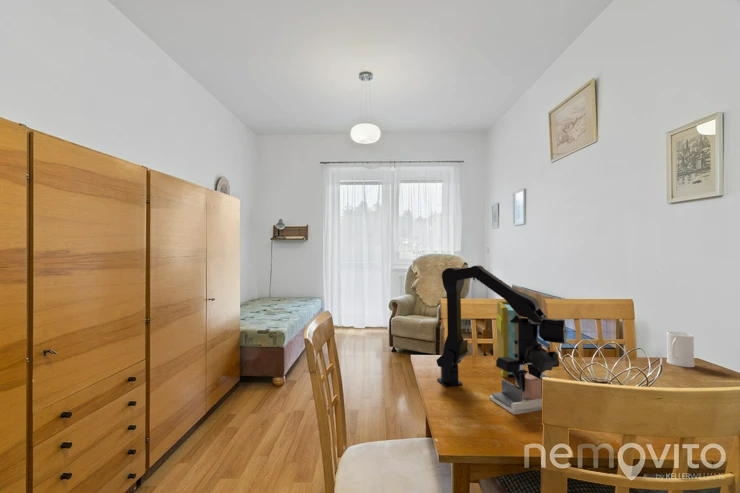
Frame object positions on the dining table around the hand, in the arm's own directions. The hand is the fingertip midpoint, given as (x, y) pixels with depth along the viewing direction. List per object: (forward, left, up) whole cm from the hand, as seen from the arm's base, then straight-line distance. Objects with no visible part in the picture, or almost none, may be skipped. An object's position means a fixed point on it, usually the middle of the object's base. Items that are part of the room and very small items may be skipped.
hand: (527, 390), depth 107 cm
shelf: (+1, 0, -3) cm, 3 cm away
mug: (-10, +82, -4) cm, 83 cm away
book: (-25, +13, -4) cm, 29 cm away
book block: (0, 0, -1) cm, 1 cm away
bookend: (0, -8, -2) cm, 8 cm away
